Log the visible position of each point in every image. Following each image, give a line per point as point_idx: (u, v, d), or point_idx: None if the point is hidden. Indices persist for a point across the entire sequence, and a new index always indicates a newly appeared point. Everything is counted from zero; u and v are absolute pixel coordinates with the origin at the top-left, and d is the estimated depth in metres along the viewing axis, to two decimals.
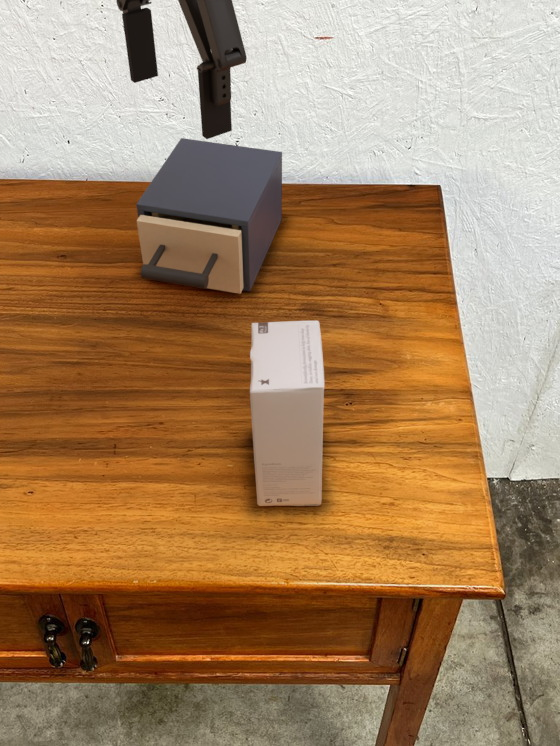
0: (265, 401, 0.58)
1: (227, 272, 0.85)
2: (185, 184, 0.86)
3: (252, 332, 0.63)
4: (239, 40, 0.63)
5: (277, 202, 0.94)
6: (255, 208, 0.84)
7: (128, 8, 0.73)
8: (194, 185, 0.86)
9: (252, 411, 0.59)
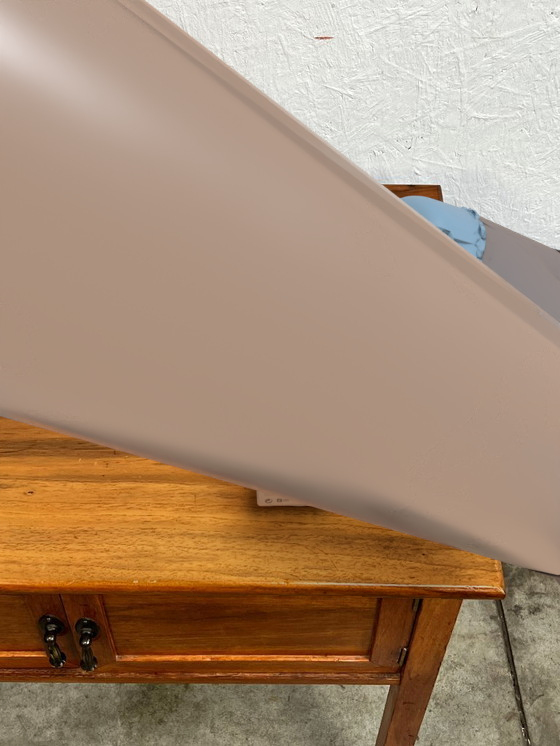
0: None
1: None
2: None
3: None
4: None
5: None
6: None
7: None
8: None
9: None
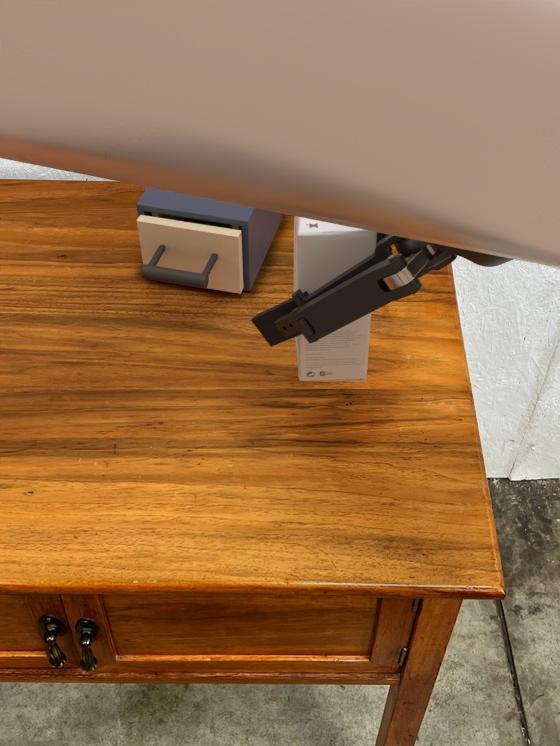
0: (314, 246, 0.54)
1: (227, 272, 0.85)
2: None
3: None
4: (323, 332, 0.53)
5: None
6: (255, 208, 0.84)
7: None
8: None
9: (299, 260, 0.55)
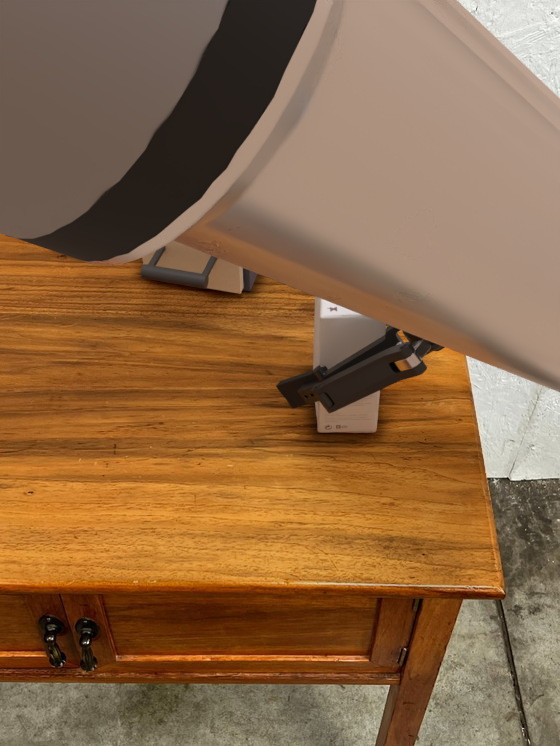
0: (334, 326, 0.64)
1: (227, 272, 0.85)
2: None
3: None
4: (341, 404, 0.63)
5: None
6: None
7: None
8: None
9: (320, 337, 0.65)
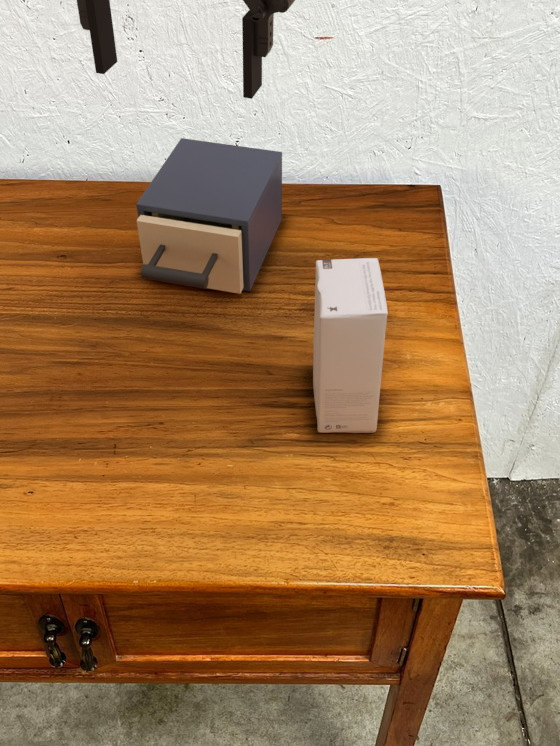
0: (334, 326, 0.64)
1: (227, 272, 0.85)
2: (185, 184, 0.86)
3: (317, 268, 0.68)
4: None
5: (277, 202, 0.94)
6: (255, 208, 0.84)
7: None
8: (194, 185, 0.86)
9: (320, 337, 0.65)
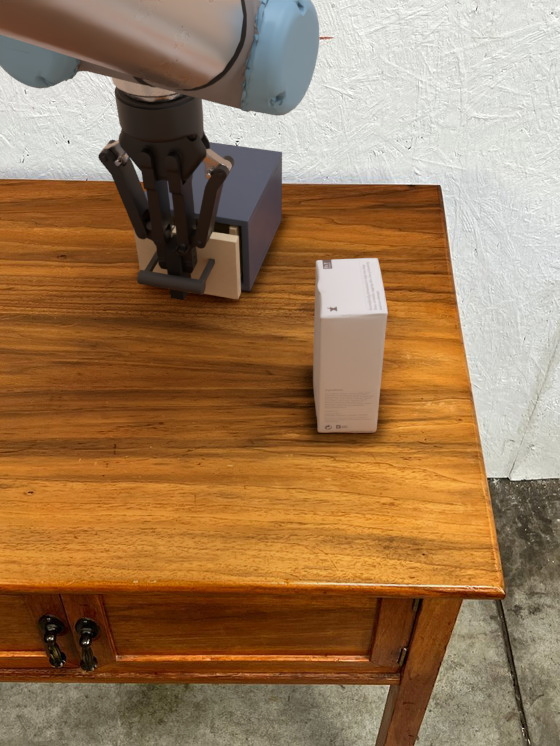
0: (334, 326, 0.64)
1: (224, 278, 0.84)
2: None
3: (317, 268, 0.68)
4: (213, 224, 0.78)
5: (277, 202, 0.94)
6: (255, 208, 0.84)
7: (167, 239, 0.79)
8: (194, 185, 0.86)
9: (320, 337, 0.65)
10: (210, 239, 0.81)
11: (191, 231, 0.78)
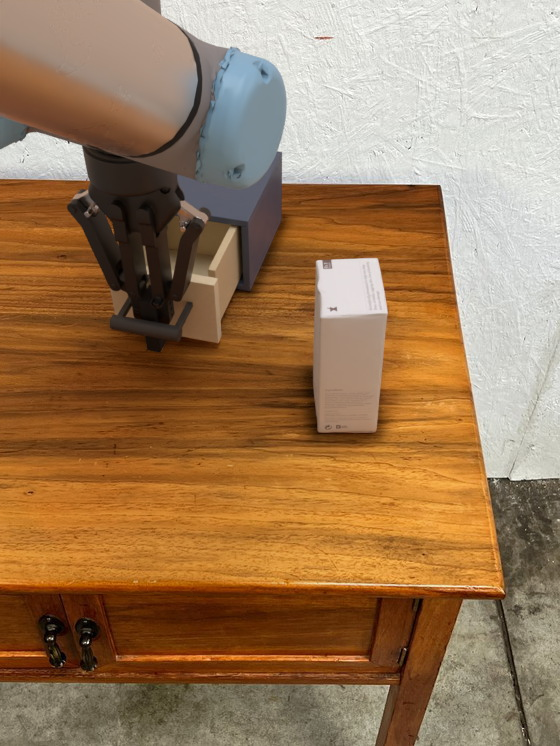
0: (334, 326, 0.64)
1: (203, 321, 0.79)
2: (185, 184, 0.86)
3: (317, 268, 0.68)
4: (191, 276, 0.74)
5: (277, 202, 0.94)
6: (255, 208, 0.84)
7: (141, 290, 0.74)
8: (194, 185, 0.86)
9: (320, 337, 0.65)
10: None
11: (167, 283, 0.74)
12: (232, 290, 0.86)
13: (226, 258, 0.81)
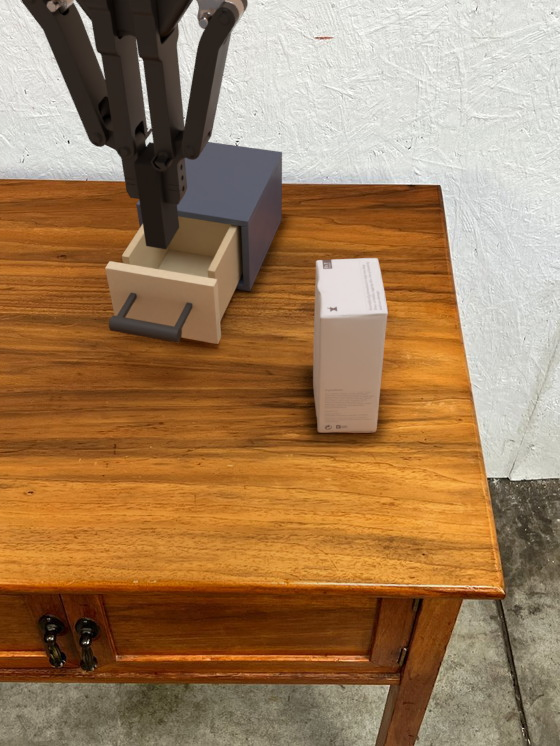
0: (334, 326, 0.64)
1: (203, 322, 0.79)
2: None
3: (317, 268, 0.68)
4: (213, 121, 0.48)
5: (277, 202, 0.94)
6: (255, 208, 0.84)
7: (138, 146, 0.49)
8: (194, 185, 0.86)
9: (320, 337, 0.65)
10: (187, 283, 0.76)
11: (177, 132, 0.48)
12: (232, 291, 0.86)
13: (226, 259, 0.81)
